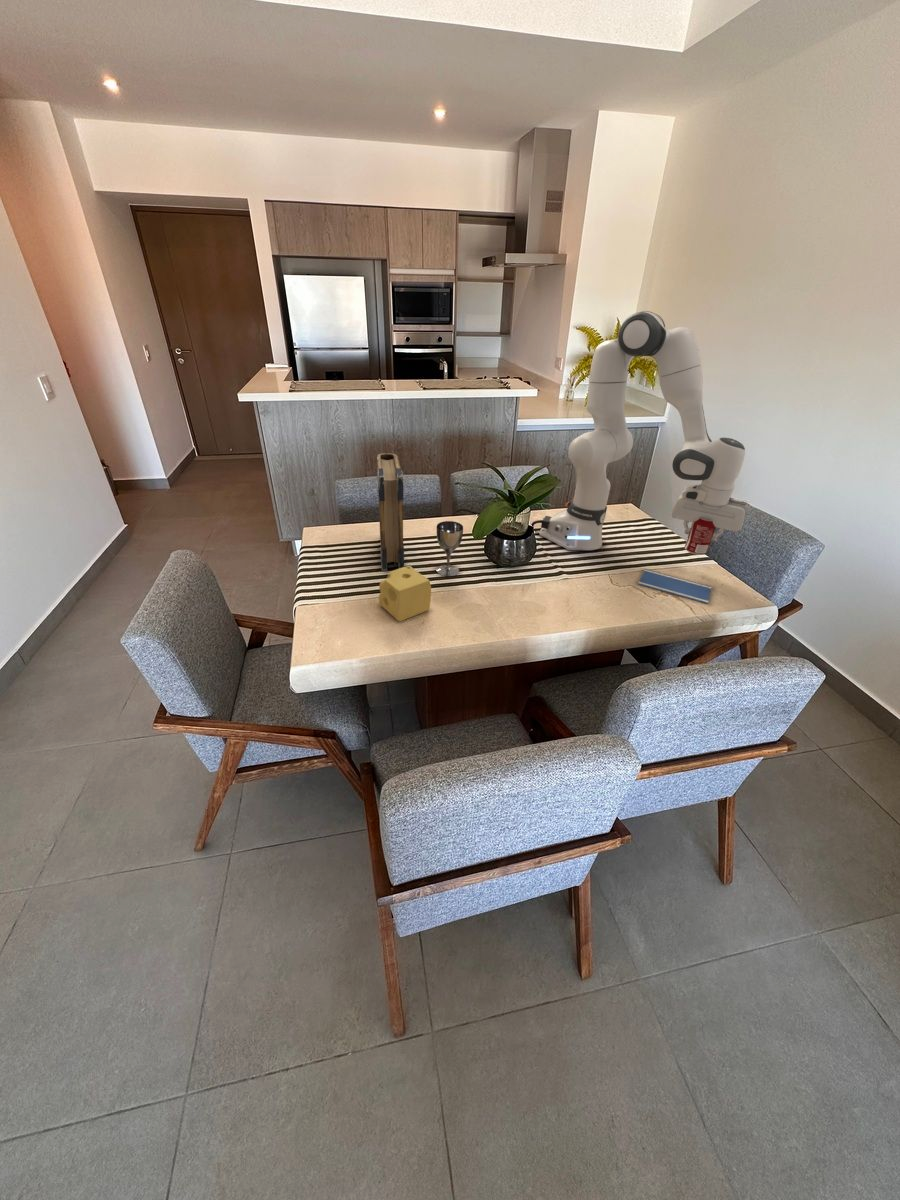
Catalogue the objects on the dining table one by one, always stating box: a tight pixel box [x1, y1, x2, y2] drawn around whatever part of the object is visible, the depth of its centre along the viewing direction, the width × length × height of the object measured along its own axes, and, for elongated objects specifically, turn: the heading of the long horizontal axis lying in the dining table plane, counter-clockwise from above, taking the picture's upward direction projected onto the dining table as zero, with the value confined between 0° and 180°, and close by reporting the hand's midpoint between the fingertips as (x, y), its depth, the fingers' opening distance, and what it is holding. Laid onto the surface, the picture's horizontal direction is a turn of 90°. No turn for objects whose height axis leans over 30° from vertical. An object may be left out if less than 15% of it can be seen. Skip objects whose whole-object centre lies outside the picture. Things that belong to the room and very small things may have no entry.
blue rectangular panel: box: [638, 568, 712, 605], centre depth 153 cm, size 20×11×1 cm, turn 61°
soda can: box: [684, 517, 717, 556], centre depth 156 cm, size 7×7×12 cm
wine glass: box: [435, 520, 464, 577], centre depth 151 cm, size 8×8×15 cm
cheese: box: [378, 565, 432, 622], centre depth 134 cm, size 10×11×10 cm
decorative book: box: [376, 452, 405, 572], centre depth 156 cm, size 23×7×30 cm, turn 9°
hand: (699, 536), depth 156 cm, fingers closed on soda can, 7 cm apart
